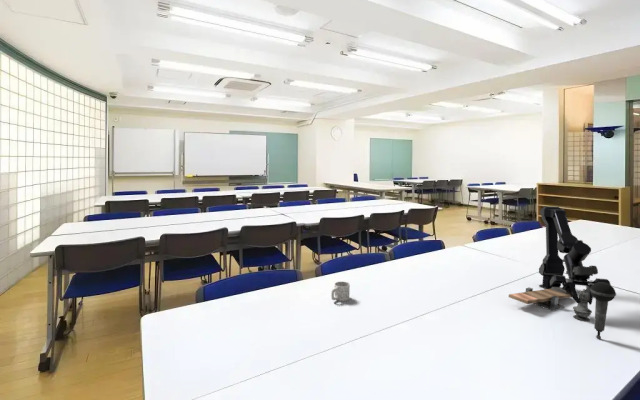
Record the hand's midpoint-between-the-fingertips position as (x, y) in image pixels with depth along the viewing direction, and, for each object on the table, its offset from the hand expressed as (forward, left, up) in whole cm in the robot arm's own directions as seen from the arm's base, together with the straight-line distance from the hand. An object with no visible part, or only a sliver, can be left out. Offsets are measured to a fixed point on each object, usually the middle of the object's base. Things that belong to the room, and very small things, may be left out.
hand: (584, 303), depth 129 cm
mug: (+74, -59, -7) cm, 95 cm away
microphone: (+11, +10, -7) cm, 16 cm away
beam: (-2, -17, -3) cm, 17 cm away
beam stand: (-2, -17, -7) cm, 18 cm away
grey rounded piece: (-1, -1, -7) cm, 7 cm away
